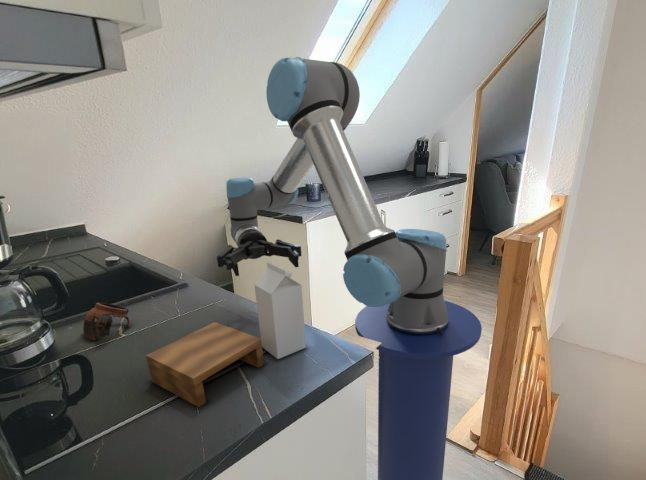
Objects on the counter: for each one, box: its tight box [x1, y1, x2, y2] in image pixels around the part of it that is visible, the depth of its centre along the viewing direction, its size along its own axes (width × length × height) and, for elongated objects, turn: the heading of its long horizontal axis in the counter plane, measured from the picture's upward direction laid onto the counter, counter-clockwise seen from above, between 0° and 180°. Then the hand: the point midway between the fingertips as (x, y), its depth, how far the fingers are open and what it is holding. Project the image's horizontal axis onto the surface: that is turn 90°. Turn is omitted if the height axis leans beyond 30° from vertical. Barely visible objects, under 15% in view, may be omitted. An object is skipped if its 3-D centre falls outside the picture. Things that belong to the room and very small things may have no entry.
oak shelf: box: [145, 321, 265, 408], centre depth 79 cm, size 14×16×6 cm
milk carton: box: [253, 261, 307, 360], centre depth 85 cm, size 7×7×19 cm
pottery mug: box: [82, 302, 131, 341], centre depth 96 cm, size 12×10×8 cm
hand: (267, 265), depth 91 cm, fingers open, 13 cm apart
